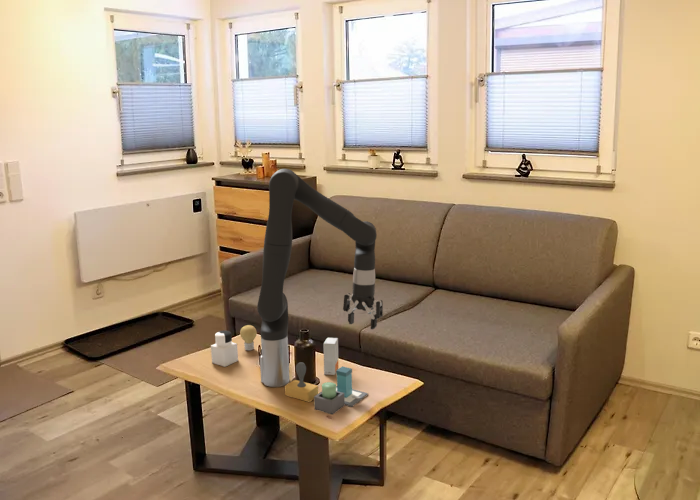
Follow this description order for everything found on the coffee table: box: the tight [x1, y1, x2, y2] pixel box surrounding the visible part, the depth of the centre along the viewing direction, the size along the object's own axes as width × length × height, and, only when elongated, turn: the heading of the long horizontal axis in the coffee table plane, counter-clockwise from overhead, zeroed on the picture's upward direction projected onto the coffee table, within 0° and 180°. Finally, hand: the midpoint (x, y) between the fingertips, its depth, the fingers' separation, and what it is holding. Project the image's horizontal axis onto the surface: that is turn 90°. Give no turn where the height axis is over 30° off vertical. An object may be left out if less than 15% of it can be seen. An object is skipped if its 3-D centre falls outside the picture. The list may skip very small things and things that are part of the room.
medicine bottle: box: [210, 329, 239, 368], centre depth 248 cm, size 7×7×12 cm
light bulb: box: [239, 324, 257, 352], centre depth 260 cm, size 6×6×10 cm
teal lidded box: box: [335, 366, 353, 398], centre depth 218 cm, size 4×4×9 cm
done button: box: [321, 381, 337, 400], centre depth 211 cm, size 5×5×4 cm
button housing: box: [313, 391, 346, 415], centre depth 212 cm, size 7×7×4 cm
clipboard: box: [336, 385, 368, 407], centre depth 220 cm, size 12×10×1 cm
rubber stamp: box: [284, 361, 319, 403], centre depth 220 cm, size 10×6×12 cm, turn 58°
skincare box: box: [322, 337, 339, 376], centre depth 238 cm, size 6×4×12 cm
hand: (362, 326), depth 226 cm, fingers open, 8 cm apart
